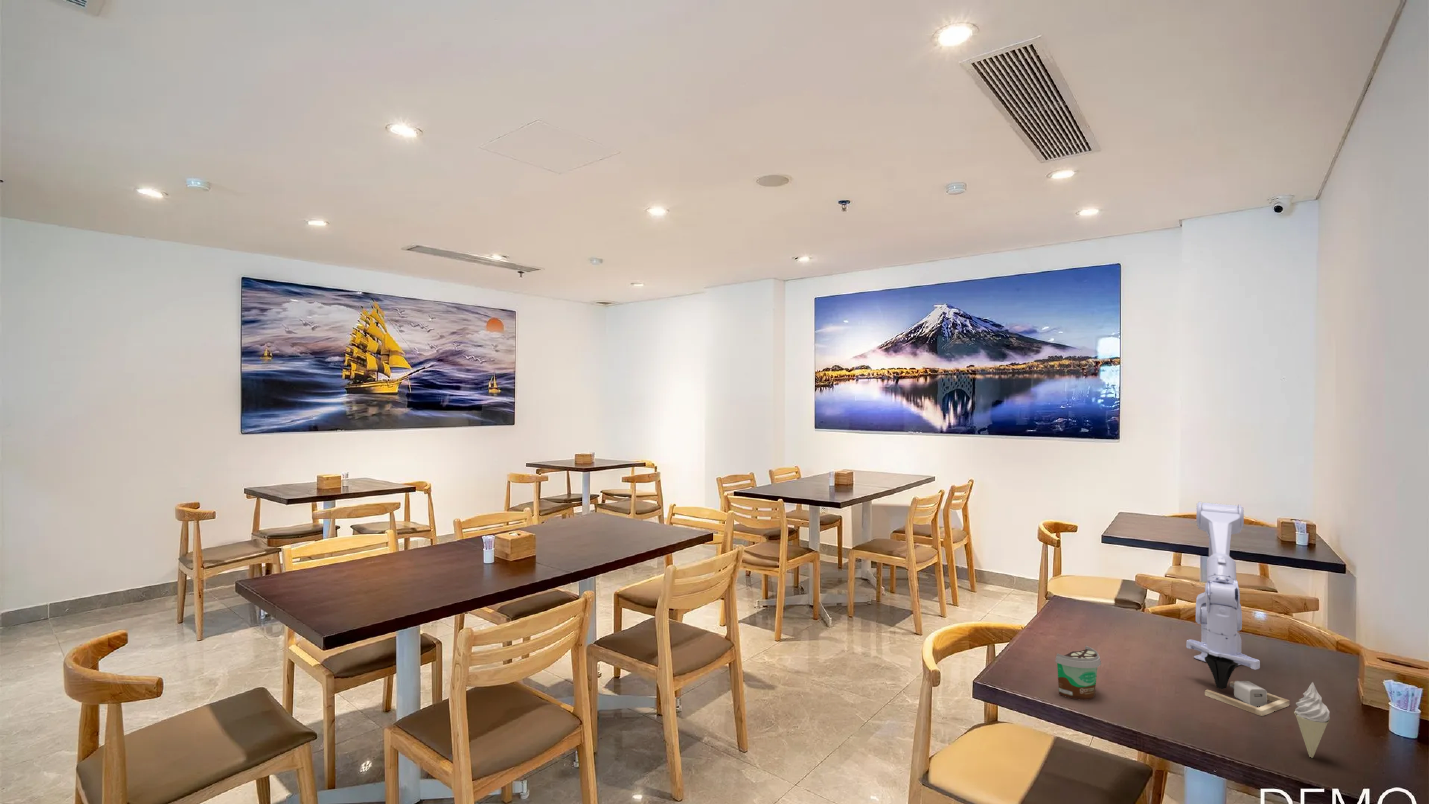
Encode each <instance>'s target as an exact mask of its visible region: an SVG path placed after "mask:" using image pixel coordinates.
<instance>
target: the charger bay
mask: <svg viewBox="0 0 1429 804" xmlns="http://www.w3.org/2000/svg"><path fill="white" fill-rule="evenodd" d="M1235 682H1236V681H1230V682H1229V683H1230V686H1231V684H1232V685H1234V683H1235ZM1230 686H1229V687H1230ZM1204 696H1206V697H1209V698H1211V699H1213V700H1217V701H1219V702H1222V703H1225V704H1227V705H1230V706H1233V707H1236V708H1238V709H1240V710H1243V711H1245V712H1246V711H1247V712H1249V713H1252V714H1254V715H1257V716H1260V717H1264V716H1267V715H1270V714H1272V713H1275V712H1277V711H1279V710H1280V711H1281V710H1282V709H1285V708H1286V707H1290V706H1291V705H1290V704H1291V703H1290V701H1291V700H1289V699H1287V698H1283V697H1280V696H1277V695H1275V694H1273V693H1272V694H1271V693H1269V692H1267V701H1269V702H1270V703H1267V705H1264V706H1261V707H1257V706H1252V705H1249V704H1247V703H1245V702H1243V701H1241V700H1239V699H1237V698H1236V699H1235V698H1233V697H1230V696H1227V695H1225V694H1221V693H1219V692H1217V691H1213V690H1210V689H1205V690H1204ZM1289 705H1290V706H1289ZM1274 711H1275V712H1274Z"/></svg>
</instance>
